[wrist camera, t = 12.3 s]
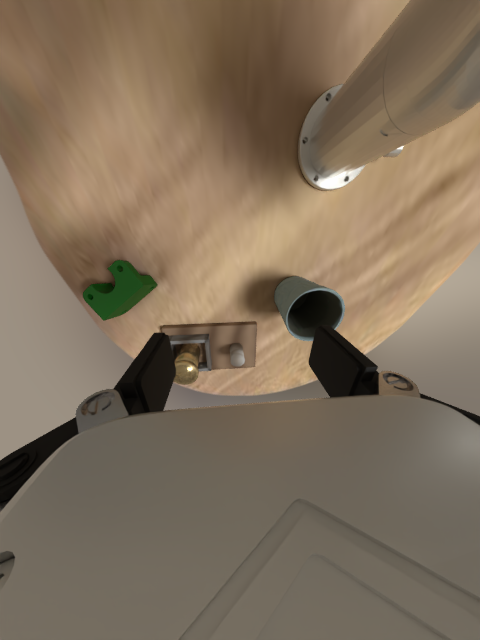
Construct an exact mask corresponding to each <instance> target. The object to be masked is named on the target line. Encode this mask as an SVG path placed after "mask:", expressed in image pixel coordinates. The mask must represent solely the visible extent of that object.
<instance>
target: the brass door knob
mask: <svg viewBox="0 0 480 640" xmlns="http://www.w3.org/2000/svg"><path fill="white" fill-rule="evenodd" d="M200 352H201V349H200V347H199V346H198V345H197V344H196V343H188V344H182V345H181V347H180V350H179V352H178V355H177V358H176V360H175V367H176V375H175V378H174V382H176V383H178V384H183V385H186V384H191V383H193V382H194V381H196V379H197V378H198V373H199V369H198V363H199V358H200Z"/></svg>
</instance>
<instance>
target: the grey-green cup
mask: <svg viewBox="0 0 480 640" xmlns="http://www.w3.org/2000/svg"><path fill="white" fill-rule="evenodd" d="M274 300H275V303H276V305H277V307H278V310H279V312H280V314H281V316H282V318H283V320H284V322H285V325H286V327H287V329H288V331H289V332H290V334H291V335H292V336H294V337H295V338H297V339H300V340H303V341H313V339H314V335H315V330H316V328H318V327H319V326H321V325H329V326H331V327H332V328H333V329H334V330H335V329H336V328H337V327H338V326H339V324H340V323H341V321H342V319H343V316H344V311H345V305H344V301H343V299H342V297H341V296H340V295H339V294H338V293H337V292H335V291H334V290H332V289H329V288H327V287H324V286H320V285H318V284H316V283H314V282H311V281H309V280H307V279H304V278H302V277H298V276H293V277H289V278H286V279H285V280H283V281H282V282H281V283H280V284H279V285H278V286H277V288H276V290H275V294H274Z"/></svg>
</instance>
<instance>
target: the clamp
mask: <svg viewBox="0 0 480 640" xmlns="http://www.w3.org/2000/svg"><path fill="white" fill-rule="evenodd" d="M108 270H109V271H110V272H111V273H112V274H113V276H114V278H115V287H113V285H112V284H111V283H104V284H91V285H90V286H89V287H88V288H87V289H86V290H85V291H84V292H83V298H84V300H85V301H86V302H87V303H88V304H89V305H90V307H91V308H92V309H93V310H94V311H95V312H96V313H97V314H98V315H99V316H100V317H101V318H102V319H103V321H104V320H107V319H111V318H114V317H117V316H120V315H122V314H124V313H126V312H127V311H129V310H130V309H131V308H132V307H133V306H134V305H136V304H137V303H138V302H139V301H140V300H141V299H143V298H144V297H145V296H146V295H147V294H148V293H150V292H151V291H152V290H153V289H154V288H155V287H156V286H157V285H158V284H157V283H156V282H155V281H154V280H153V278H152V277H151V276H150V275H143V276H141V275H140V274H139V273H138V272H137V271H136V269H135V268H134V267H133V266H132V265H131V264H130V263H129V262H128V261H122V260H117V261H115V262H114V263H113V264H112V265H111V266H110V267H109V268H108Z"/></svg>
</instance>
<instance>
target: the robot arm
mask: <svg viewBox="0 0 480 640" xmlns="http://www.w3.org/2000/svg"><path fill="white" fill-rule="evenodd" d="M478 102H480V0H410V1H409V3H408V4H407V5H406V6H405V8H404V9H403V10H402V12H401V13H400V14H399V15H398V17H397V18H396V19H395V20H394V22H393V23H392V24H391V25H390V27H389V28H388V29H387V30H386V32H385V33H384V34H383V35H382V37H381V38H380V39H379V40H378V42H377V43H376V44H375V45H374V47H373V48H372V49H371V51H370V52H369V53H368V54H367V56H366V57H365V58H364V59H363V61H362V62H361V63H360V64H359V66H358V67H357V68H356V69H355V71H354V72H353V73H352V74H351V76H350V77H349V78H348V79H347V81H346V82H345V83H344V84H339V85H337V86H334V87H332V88H330V89H329V90H327V91H326V92H324V93H323V94H322V95H321V96H320V97H319V98H318V99H317V101H316V102H315V103H314V105H313V106H312V107H311V109H310V111H309V112H308V114H307V116H306V118H305V120H304V122H303V125H302V128H301V131H300V135H299V141H298V159H299V165H300V168H301V171H302V173H303V175H304V177H305V179H306V180H307V181H308V182H309V184H311V185H312V186H313V187H315V188H317V189H319V190H324V191H331V190H335V189H338V188H341V187H343V186H345V185H347V184H348V183H350V182H351V181H352V180H353V179H354V178H356V177H357V176H358V174H359V173H360V172H361V171H362V169H363V168H364V166H365V165H366V164H368V163H370V162H372V161H374V160H376V159H378V158H380V157H382V156H383V157H396V156H398V155H399V154H400V152H401V151H402V149H403V146H404V145H406V144H408V143H410V142H412V141H414V140H416V139H418V138H420V137H422V136H424V135H426V134H428V133H430V132H432V131H434V130H436V129H437V128H439V127H441V126H443V125H445V124H447V123H449V122H451V121H453V120H454V119H456V118H458V117H459V116H461V115H462V114H464V113H465V112H467V111H468V110H470V109H471V108H472V107H474V106H475V105H476V104H477V103H478ZM303 141H304V144H303ZM314 179H315V181H314ZM309 365H310V367H311V369H312V370H313V372H314V373H315V375H316V376H317V378H318V379H319V381H320V382H321V384H322V385H323V387H324V389H325V390H326V392H327V393H328V395H329V396H330V398H316V399H303V400H289V401H275V402H264V403H249V404H237V405H225V406H213V407H200V408H188V409H177V410H167V411H163V409H164V407H165V404H166V401H167V398H168V395H169V392H170V389H171V386H172V384H173V381H174V378H175V375H176V367H175V362H174V358H173V353H172V348H171V344H170V339H169V336H168V335H166V334H165V333H154V334H153V335H152V336H151V338H150V339H149V341H148V342H147V343H146V345H145V346H144V348H143V349H142V350H141V352H140V353H139V355H138V356H137V357H136V358H135V360H134V361H133V362H132V364H131V365H130V367H129V368H128V369H127V371H126V372H125V374H124V375H123V376H122V378H121V379H120V381H119V382H118V383H117V385H116V386H115V388H114V389H106V390H102V391H99V392H96V393H94V394H93V395H91V396H89V397H88V398H86V399H85V400H84V401H83V402H82V403H81V404H80V405H79V406H78V408H77V410H76V417H75V418H73V419H72V420H70V421H68V422H66V423H64V424H63V425H61V426H59V427H57V428H55V429H54V430H52V431H50V432H48V433H47V434H45V435H43V436H41V437H39V438H38V439H36V440H34V441H32V442H30V443H29V444H27V445H25V446H23V447H22V448H20V449H18V450H16V451H14V452H13V453H11V454H9V455H8V456H6V457H5V458H3V459H2V460H0V640H480V416H477V415H475V414H472V413H470V412H467V411H465V410H462V409H459V408H457V407H454V406H452V405H449V404H446V403H444V402H441V401H439V400H436V399H434V398H431V397H428V396H425V395H423V394H420V393H419V389H418V387H417V385H416V384H415V383H414V382H413V381H412V380H410V379H409V378H407V377H405V376H403V375H401V374H399V373H396V372H392V371H381V372H380V373H378V372H377V371H376V370H377V367H378V366H377V365H375V364H374V363H373V362H372V361H371V360H369V359H368V358H367V357H366V356H365V355H364V354H363V353H361V352H360V351H359V350H358V349H357V348H355V347H354V346H353V345H352V344H351V343H350V342H348V341H347V340H346V339H345V338H344V337H343V336H341V335H340V334H339V333H338V332H337V331H336V330H334V329H333V328H332V327H331V326H329V325H321V326H319V327H318V328H316V330H315V335H314V339H313V344H312V348H311V353H310V358H309Z"/></svg>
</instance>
